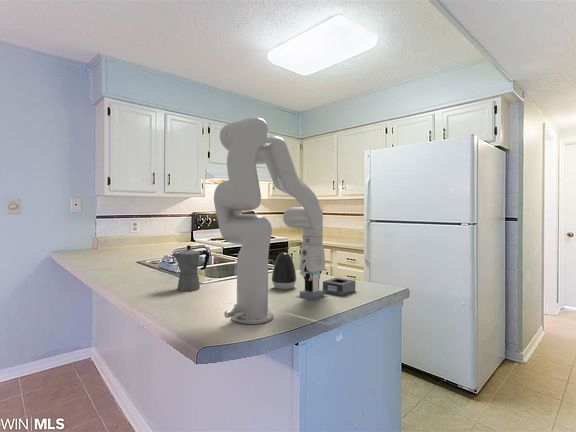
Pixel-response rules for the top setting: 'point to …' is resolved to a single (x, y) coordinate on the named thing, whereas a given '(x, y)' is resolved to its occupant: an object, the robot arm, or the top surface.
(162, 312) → the top surface
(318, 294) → the grey square open box
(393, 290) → the top surface
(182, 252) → the coffeepot
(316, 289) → the blue capped white bottle
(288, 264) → the dark egg-shaped speaker
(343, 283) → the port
